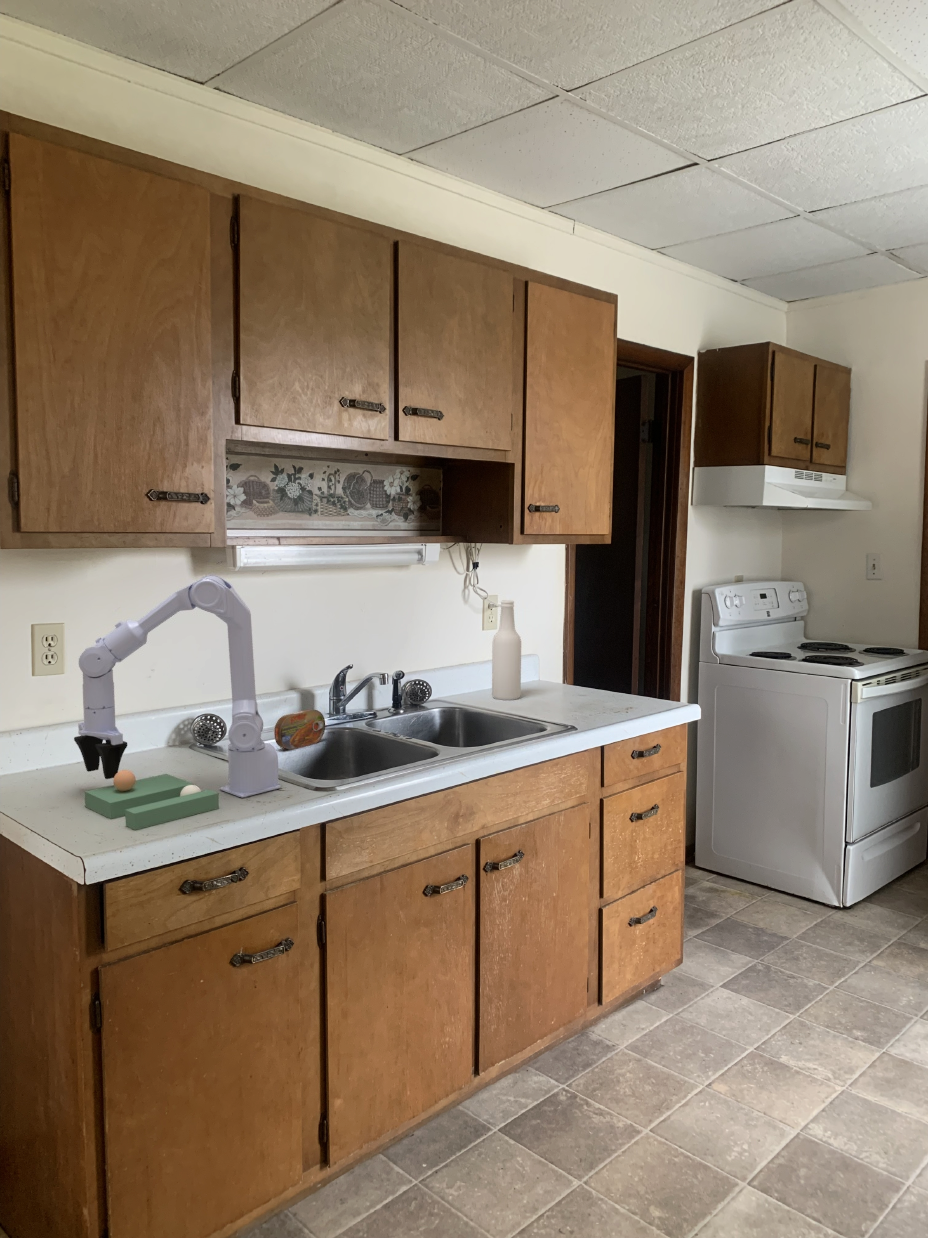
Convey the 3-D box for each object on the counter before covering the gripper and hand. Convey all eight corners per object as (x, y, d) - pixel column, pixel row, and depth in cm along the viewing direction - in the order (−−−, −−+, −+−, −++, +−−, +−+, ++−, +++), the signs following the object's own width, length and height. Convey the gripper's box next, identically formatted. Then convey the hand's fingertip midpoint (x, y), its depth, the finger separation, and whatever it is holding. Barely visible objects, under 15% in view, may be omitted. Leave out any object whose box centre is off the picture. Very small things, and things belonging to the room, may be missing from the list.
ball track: (166, 788, 189) (166, 773, 188) (218, 808, 176) (218, 793, 176) (85, 806, 176) (84, 791, 176) (134, 830, 163) (134, 813, 163)
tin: (281, 753, 217) (281, 718, 216) (272, 751, 219) (271, 716, 218) (326, 741, 230) (326, 707, 229) (317, 739, 231) (317, 705, 230)
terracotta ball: (129, 786, 179) (128, 766, 179) (139, 790, 177) (139, 770, 176) (109, 790, 176) (109, 770, 176) (120, 795, 174) (119, 774, 173)
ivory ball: (206, 802, 179) (190, 792, 181) (206, 787, 177) (191, 777, 178) (190, 813, 176) (175, 803, 178) (191, 799, 174) (175, 788, 175)
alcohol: (526, 699, 284) (527, 601, 281) (501, 701, 280) (503, 602, 276) (510, 694, 292) (511, 599, 288) (486, 696, 287) (487, 600, 284)
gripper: (62, 704, 183) (65, 771, 185) (96, 715, 173) (99, 785, 175) (96, 699, 188) (99, 764, 190) (132, 709, 178) (134, 778, 180)
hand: (101, 774), depth 183 cm, fingers open, 7 cm apart
